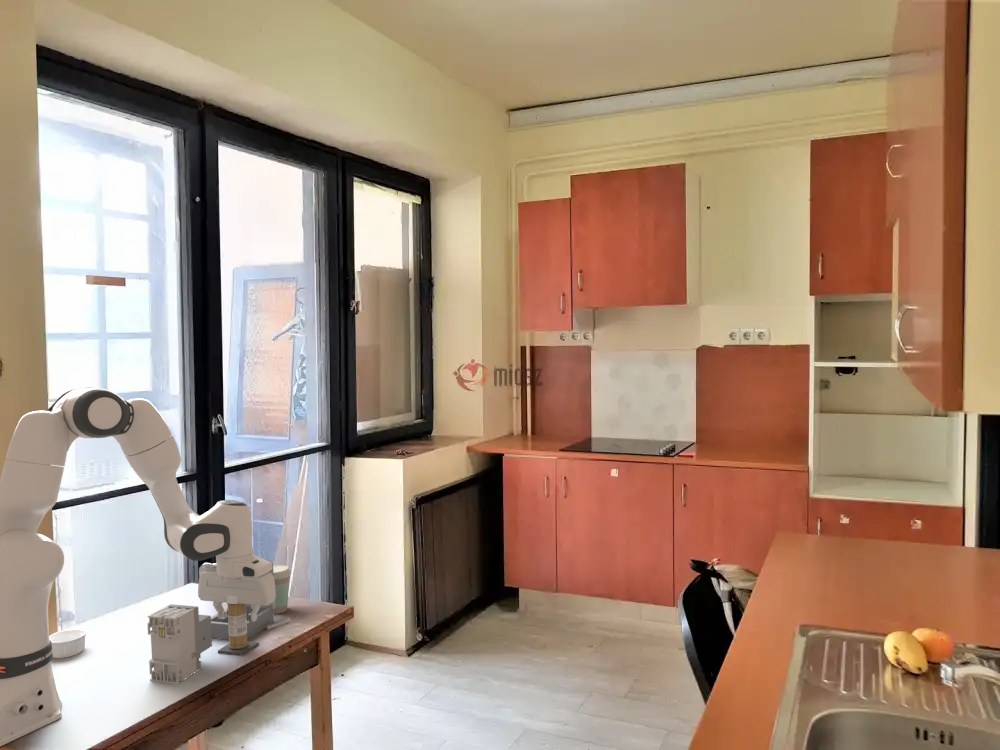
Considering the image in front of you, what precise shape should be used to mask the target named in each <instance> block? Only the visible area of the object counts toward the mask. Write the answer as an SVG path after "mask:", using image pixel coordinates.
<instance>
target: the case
mask: <svg viewBox="0 0 1000 750" xmlns="http://www.w3.org/2000/svg"><path fill="white" fill-rule="evenodd" d="M271 563H272V570H270V571H269V572H270V573H271V574H272V575H273V565H274V563H273V562H271ZM273 577H274V575H273ZM273 609H275V600H274V601H273V602H272V603H270V604H269V605H267V606H262V605H261V607H260V608H259V610H258V612H257V620H256V621H254V622H250V621H247V640H248V639H249V637H250V638H251V637H253V636H255V633H256V634H257V633H258V631H259V632H260V631H262V630H263V629H265V628H264V627H265V625H268V624H271V623H274V622H275V621H274V614H273ZM224 610H227V617H226V618H225V619H218V613H217V614H215V615H213V616H211V624H212V627H211V635H212V639H216V638H221V639H220V640H226V639H228V641H229V629H228V607H227V608H225V609H224ZM252 610H253V609H251V605H250V604H246V620H248V614H250V613H252ZM261 629H262V630H261ZM252 635H253V636H252Z"/></svg>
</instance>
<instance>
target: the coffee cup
mask: <svg viewBox="0 0 1000 750" xmlns="http://www.w3.org/2000/svg"><path fill="white" fill-rule="evenodd" d="M273 575H274V581H275V590H276V597H275V609H273V615H278V614H282V613H284V612H286V611H287V610H288V603H289V602H288V601H289V588H290V578H291V575H292V573H291V570H290V568H289V566H288V565H285V564H275V565H274V564H273Z"/></svg>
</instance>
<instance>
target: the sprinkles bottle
mask: <svg viewBox="0 0 1000 750" xmlns="http://www.w3.org/2000/svg"><path fill="white" fill-rule="evenodd" d="M226 604H227V608H228V629H229V640H228V641H229V642H228V644H229V647H230V648H231V649H241V648H244V647H246V646H247V645H248V642H247V641H248V639H247V621H246V604H238V602H237V597H235V596H227V603H226Z"/></svg>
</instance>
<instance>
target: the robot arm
mask: <svg viewBox="0 0 1000 750" xmlns="http://www.w3.org/2000/svg"><path fill="white" fill-rule="evenodd" d="M173 435H174V434H173V433H172V432H171V430H170V428H169V426H168V424H167V422H166V421H165V419H164V417H163V416H162V415H161V413H160V412H159V410H158V409H157V408H156V407H155V406H154V404H153V403H152V402H151V401H149V400H148V399H146V398H145V399H144V398H131V399H129V400H126V399H124V397H121V396H120V395H119V394H117V393H115V392H113V391H112V390H110V389H109V390H108V389H106V388H96V387H81V388H80V387H79V388H76V389H74V388H73V389H71V390H68V391H67V392H65V393H63V394H62V395H61V396H59V397H58V398H57V400H55V402H54V403H53V404H51V406H50V407H49V408H47V410H35V411H31V412H28V413H26V414H24V415H23V416H22V417H21V418H20V419H19V421H18V423H17V425H16V427H15V429H14V431H13V433H12V437H11V439H10V442H9V445H8V449H7V451H6V456H5V457H4V458H5V459H4V462H3V463H4V464H3V468H2V471H1V475H0V747H2V746H4V745H6V744H9V743H11V742H12V741H15V740H17V739H19V738H22V737H23V736H26V735H28V734H30V733H32V732H34V731H36V730H38V729H40V728H42V727H45V726H47V725H49V724H50V723H53V722H55V721H57V720H59V719H61V717H62V711H61V708H62V706H63V705H62V704H63V703H62V700H61V699H60V696H59V694H58V691H57V687H56V683H55V677H54V672H53V667H52V660H53V659H54V658H53V653H52V652H53V650H52V642H51V641H50V640H49V636H50V631H49V630H50V629H49V627H50V626H49V602H50V596H51V592H52V588H53V584H54V582H55V580H56V579H57V578H58V577H59V576H60V574H61V573H62V570H63V567H64V565H65V554H64V551H63V550H62V548H61V546H60V545H59V544H57V542H55V541H54V540H52V539H51V538H50V537H48V536H46V535H45V534H41V533H37V531H38V529H39V527H40V525H41V522H42V521H43V519H44V518H45V516H46V514H47V513H48V512H49V510H51V509H52V508H53V507H54V506H55V505H56V503H57V501H58V497H59V492H60V488H61V485H62V479H63V475H64V471H65V470H64V469H65V466H66V462H67V461H66V460H67V456H68V455H67V454H68V452H69V450H70V447H71V446H72V444H73V443H74V442H75V441H76V440H77V439H78V438H81V439H82V438H83V439H105V438H108V437H113V438H114V439H115V441H116V442H117V443H118V444H119V446H120V448H121V451H122V453H123V455H124V456H125V458H126V460H127V462H128V463H129V465H130V467H131V469H132V470H133V471H134V472H135V474H136V475H137V476H138V478H139V479H140V480H141V481H142V482H143V483H144V484H145V486H146V487H147V488H148V490H149V491H150V493H151V495H152V497H153V499H154V501H155V503H156V505H157V507H158V509H159V512H160V513H161V516H162V519H163V535H164V539H165V542H166V544H167V545H168V547H170V549H172V550H174V551H176V552H178V553H180V555H182V556H184V557H185V558H187V559H189V560H190V561H197V562H199V561H200V562H201V561H204V560H208V559H211V558H214V557H215V563H210V562H204V563H203V564H202V565H200V567H199V568H198V577H199V578H198V586H197V597H198V598H199V600H201V601H204V602H212V605H213V607H214V609H215V611H216V612H217V614H218V619H225V618H226V617H227V610H225V609H224V606H223V603H226V604H227V596H235V597H237V602H238V604H250V605H251V609H253V610H252V613H250V614H248V621H250V622H254V621H256V620H257V612H258V610H259V608H260V607H261V605H262V606H267V605H269V604H270V603H272V602H273V601H274V600H275V597H276V590H275V581H274V577H273V575H272V574H271V573H270V572H269V571H270V570H272V563H273V562H271V561H269V560H266V559H264V558H263V557H260V556H258V555H256V554H254V548H253V544H252V538H253V522H252V515H251V510H250V507H249V506H248V504H246V503H244V502H242V501H240V500H235V499H234V500H232V499H224V500H219V501H217V502H216V504H215V505H214V506H213V507H211V508H210V509H209V510H208V511H206V512H204V513H203V514H201V515H200V514H198V513H197V512H195V511H194V510H193V509H192V508H191V507H190V506H189V504H188V502H187V499H186V497H185V495H184V493H183V491H182V490H181V487H180V484H179V483H178V480H177V471H178V469H179V468H180V465H181V462H182V457H181V453H180V450H179V447H178V444H177V441H176V439H175V437H174V436H173Z"/></svg>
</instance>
